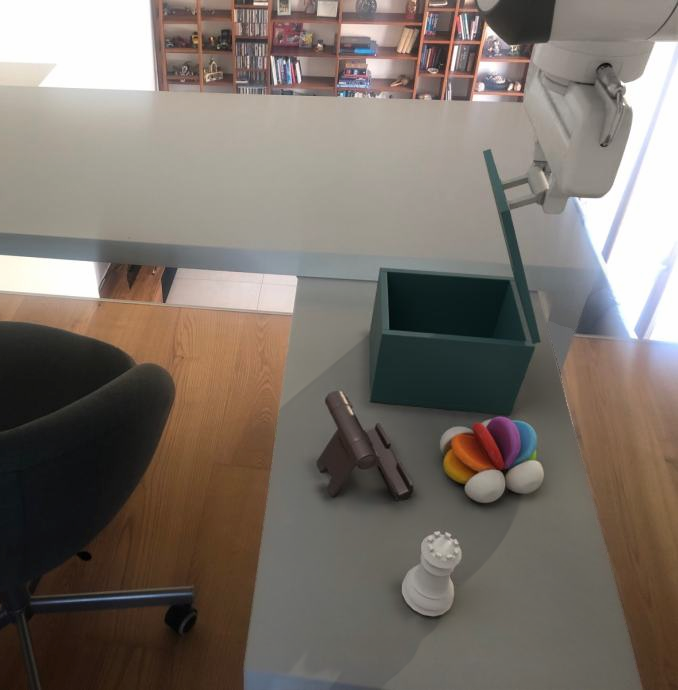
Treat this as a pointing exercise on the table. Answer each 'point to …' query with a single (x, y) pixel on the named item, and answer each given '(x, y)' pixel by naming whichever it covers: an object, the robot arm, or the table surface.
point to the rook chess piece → (433, 576)
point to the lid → (537, 186)
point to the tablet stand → (359, 450)
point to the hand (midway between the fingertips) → (543, 193)
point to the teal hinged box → (448, 341)
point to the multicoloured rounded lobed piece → (492, 458)
